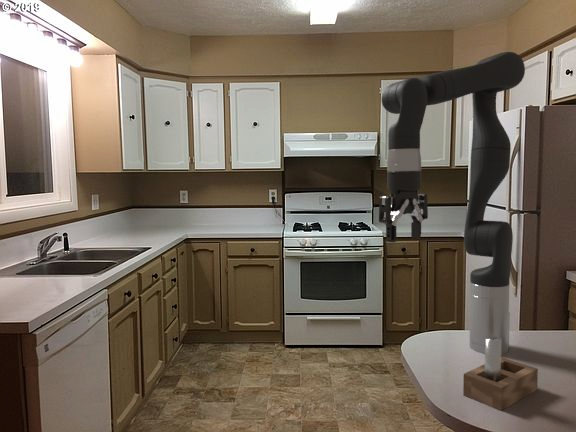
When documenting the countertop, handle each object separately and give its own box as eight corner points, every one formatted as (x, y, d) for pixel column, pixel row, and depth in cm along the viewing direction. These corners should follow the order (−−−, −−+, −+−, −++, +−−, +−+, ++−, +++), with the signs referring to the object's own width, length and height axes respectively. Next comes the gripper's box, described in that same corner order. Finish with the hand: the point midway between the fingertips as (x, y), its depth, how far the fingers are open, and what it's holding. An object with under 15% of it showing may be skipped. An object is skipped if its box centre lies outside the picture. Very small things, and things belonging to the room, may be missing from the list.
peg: (489, 391, 94) (490, 335, 93) (503, 397, 92) (504, 339, 91) (481, 396, 92) (482, 338, 92) (495, 401, 90) (496, 342, 89)
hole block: (500, 376, 101) (500, 356, 101) (537, 389, 95) (537, 368, 94) (463, 395, 93) (463, 373, 93) (501, 410, 87) (501, 387, 86)
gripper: (411, 169, 111) (411, 235, 113) (370, 170, 103) (370, 241, 104) (437, 169, 105) (436, 238, 107) (395, 169, 97) (395, 244, 98)
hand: (404, 239), depth 106 cm, fingers open, 8 cm apart
